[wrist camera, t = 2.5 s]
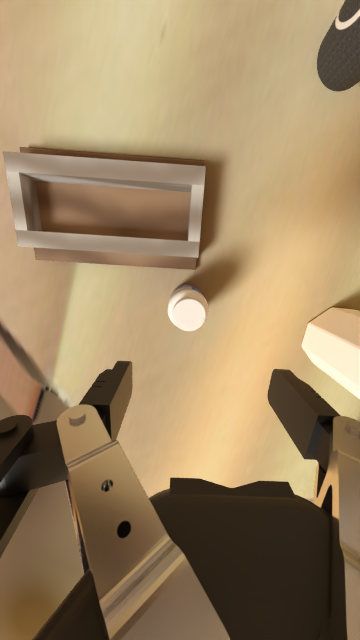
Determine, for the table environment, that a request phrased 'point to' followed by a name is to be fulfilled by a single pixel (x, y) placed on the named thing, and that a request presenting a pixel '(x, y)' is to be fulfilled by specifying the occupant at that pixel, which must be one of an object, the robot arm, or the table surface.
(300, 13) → the table surface
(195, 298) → the pill bottle
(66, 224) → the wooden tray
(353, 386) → the cup
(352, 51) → the coffee cup
